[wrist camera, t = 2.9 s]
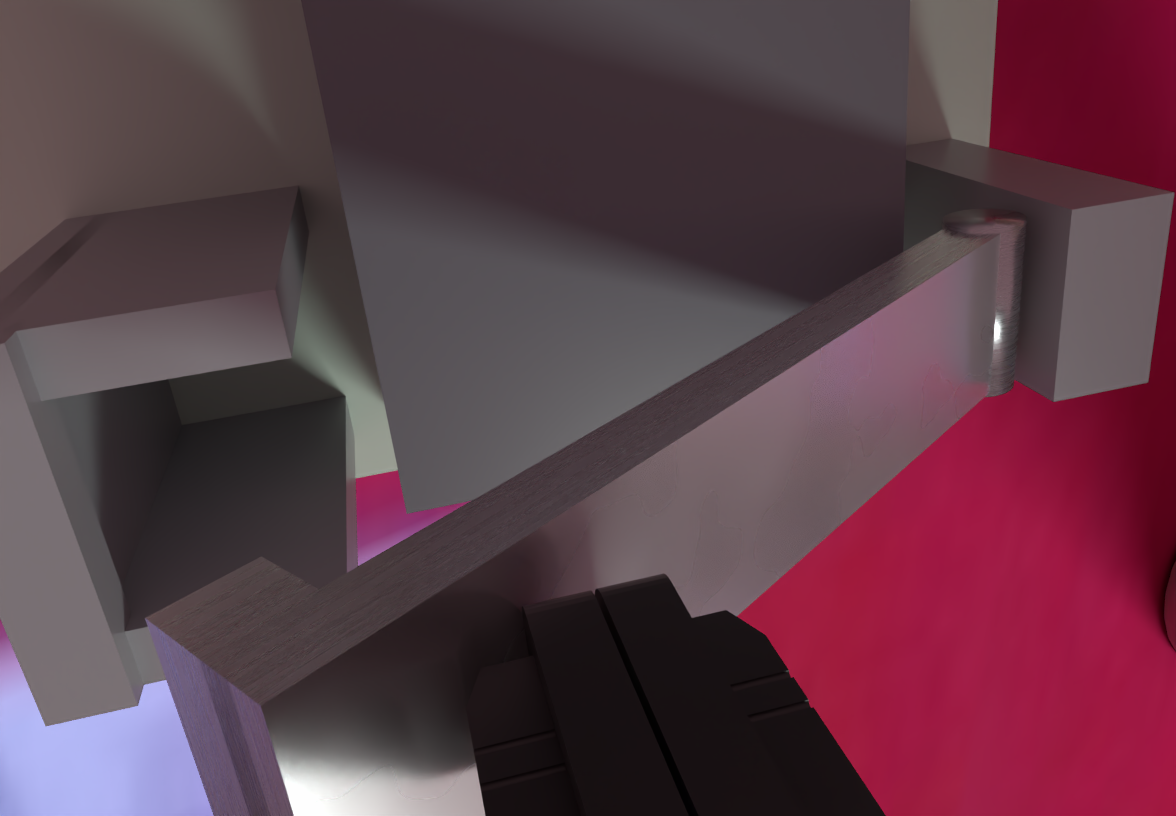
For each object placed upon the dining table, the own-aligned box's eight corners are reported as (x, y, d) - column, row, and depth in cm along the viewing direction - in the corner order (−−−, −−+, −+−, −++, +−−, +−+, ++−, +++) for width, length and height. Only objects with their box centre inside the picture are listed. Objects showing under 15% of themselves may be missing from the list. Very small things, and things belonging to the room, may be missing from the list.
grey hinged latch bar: (921, 202, 19) (1038, 211, 18) (916, 357, 20) (1025, 376, 19) (141, 608, 9) (271, 705, 8) (230, 863, 10) (355, 988, 9)
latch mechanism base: (989, -624, 19) (1557, -1165, 10) (944, 340, 27) (1239, 510, 18) (-340, -604, 15) (-1287, -1427, 6) (67, 506, 24) (-102, 821, 15)
